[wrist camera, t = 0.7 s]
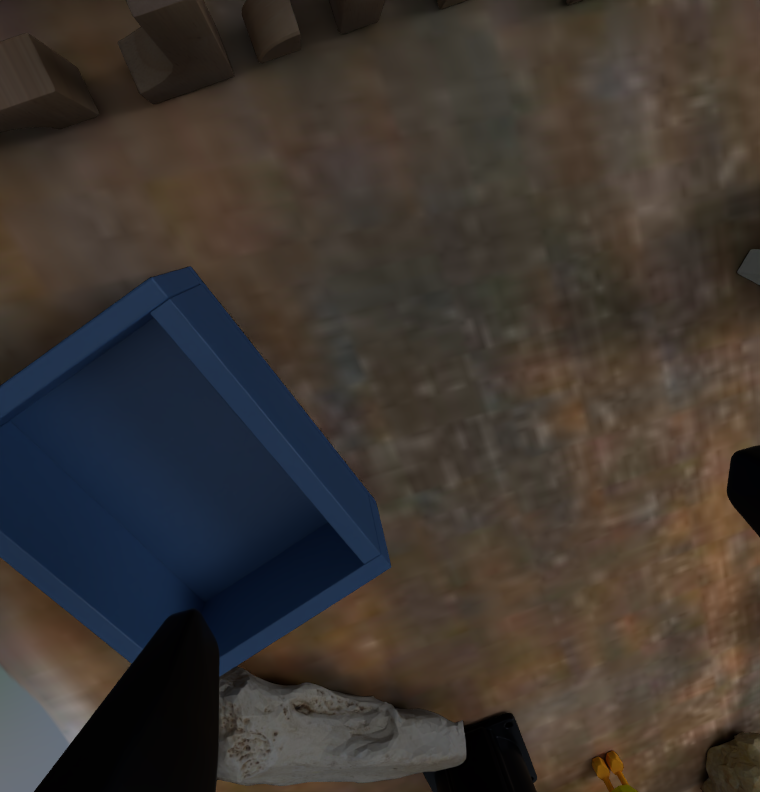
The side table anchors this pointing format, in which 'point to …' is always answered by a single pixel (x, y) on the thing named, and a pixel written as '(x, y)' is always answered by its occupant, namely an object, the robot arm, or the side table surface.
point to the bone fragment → (325, 735)
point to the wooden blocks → (156, 56)
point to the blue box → (177, 480)
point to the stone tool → (734, 765)
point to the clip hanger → (751, 266)
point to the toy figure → (616, 768)
